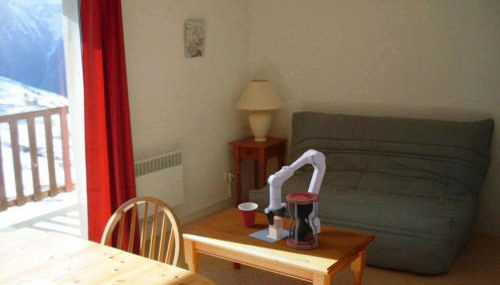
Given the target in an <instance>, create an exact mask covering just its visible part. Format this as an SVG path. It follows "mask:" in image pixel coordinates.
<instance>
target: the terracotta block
mask: <svg viewBox="0 0 500 285" xmlns="http://www.w3.org/2000/svg"><path fill="white" fill-rule="evenodd" d="M283 223H284V217H283V218H282V217H278V215H275V216H274V224H273V226H272V225H269V224H268V228H269V227H270V228H273V229H279V228H282V227H283V228H284V224H283Z"/></svg>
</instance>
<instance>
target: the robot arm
mask: <svg viewBox="0 0 500 285" xmlns="http://www.w3.org/2000/svg"><path fill="white" fill-rule="evenodd" d="M306 164H311V165H312V166H313V168H314V169H313V170H314V171H313V174H312V178H311V181H310V184H309V187H308V191H307V192H311V193H315V194H317V195H318V196H319V192H320V189H321V187H322V186H321V185H322V183H323V179H324V175H325V172H326V168H327V167H326V156H325V155H324V153H323V152H321V151H318V150H315V149H313V148H312V149H308V150H307V151H305V152H304V153H303V154H302V155H301V156H300V157H299V158H298V159H297V160H295V161H294V162H293V163H292V164H291V165H289V166H287V165H285V166H282V167H281V169H280V170H279V171H277V172H275V174H271V175H269V177H268V179H267V183H268V185H269V205H268V207H266V208H264V214H265V216H266V218H267V221H268V226H269V225H272V226H273V224H274V216H276V213H274V211H276V212H277V216H278V217H282V218H283V219H284V218H285V215H286V212H287V203H286V202H282V190H281V189H282V186H283V185H284V182H285V181H286V180H288V179H289V178H291V176H293V175H294V172H295V171H296V170H298V169H299V168H301V167H304V165H306ZM318 206H319V204H318V203H317V207H318ZM314 215H315V202H314V203H313V211H312V213H311V214H310V215H309V221H310V226H311V227H312V229H313V236H315V229H314V227H313V226H312V223H311V221H312V218H313V217H314ZM305 221H306V222H307V220H306V219H305ZM307 223H308V222H307ZM314 224H315V226H316V228H317V234H319V233H321V232H322V230H321V220H320V218H318V217H317V216H316V218H315V219H314Z"/></svg>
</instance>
